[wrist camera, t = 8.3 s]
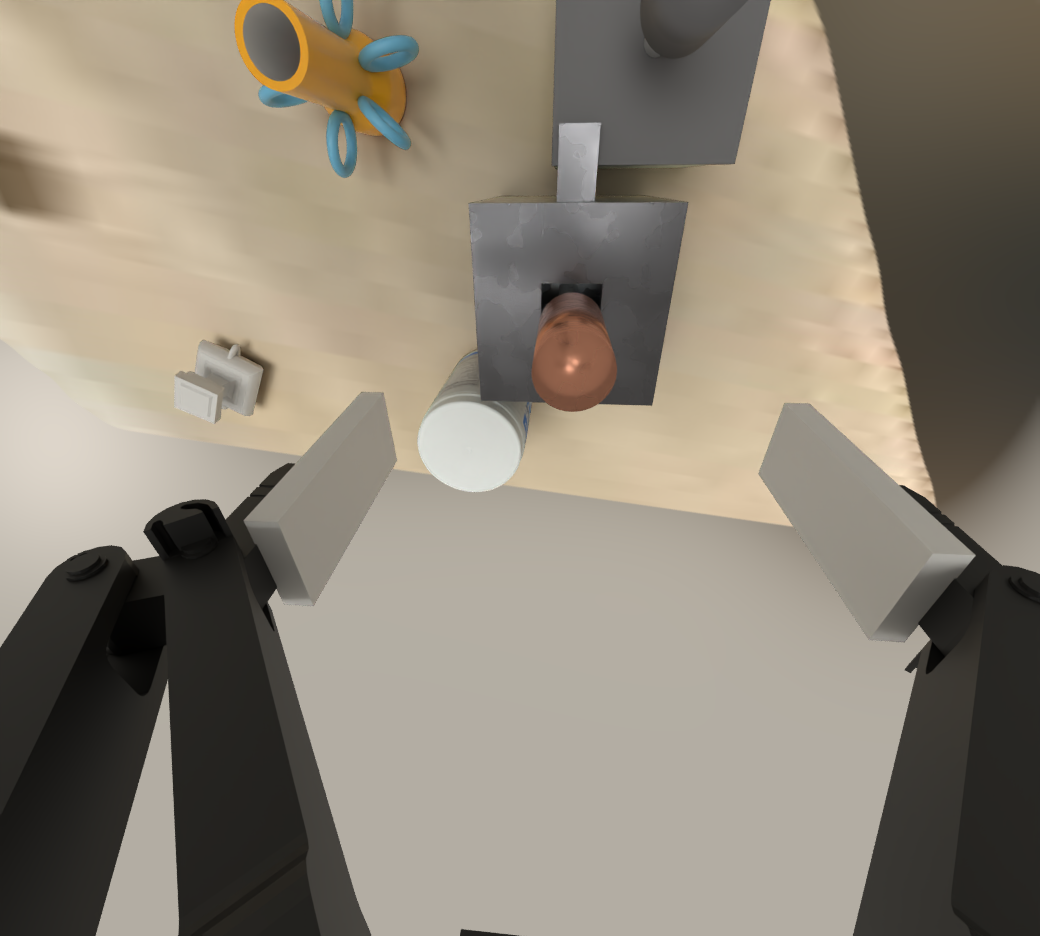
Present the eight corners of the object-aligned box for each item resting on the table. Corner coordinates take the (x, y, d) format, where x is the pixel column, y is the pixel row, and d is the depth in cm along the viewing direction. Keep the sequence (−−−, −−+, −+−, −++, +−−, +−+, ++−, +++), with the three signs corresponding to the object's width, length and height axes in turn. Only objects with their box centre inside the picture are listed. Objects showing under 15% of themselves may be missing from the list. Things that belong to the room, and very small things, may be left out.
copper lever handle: (545, 263, 35) (532, 329, 19) (594, 263, 35) (622, 331, 19) (544, 314, 37) (531, 410, 22) (590, 314, 37) (611, 412, 21)
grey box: (498, 142, 37) (463, 120, 24) (651, 140, 36) (703, 116, 23) (504, 338, 47) (480, 400, 33) (625, 340, 46) (652, 405, 32)
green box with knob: (560, -14, 32) (557, -344, 12) (716, -21, 31) (994, -386, 11) (554, 170, 38) (546, 157, 18) (684, 169, 37) (826, 154, 17)
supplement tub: (548, 402, 50) (544, 472, 38) (480, 434, 53) (456, 509, 41) (505, 328, 46) (485, 381, 34) (434, 368, 49) (393, 430, 37)
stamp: (219, 323, 48) (160, 347, 41) (277, 353, 50) (230, 381, 43) (209, 387, 53) (155, 419, 46) (263, 413, 54) (219, 447, 47)
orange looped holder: (467, 94, 36) (417, 47, 23) (398, 202, 40) (325, 212, 28) (339, -52, 32) (195, -205, 19) (279, 87, 36) (132, 37, 24)
